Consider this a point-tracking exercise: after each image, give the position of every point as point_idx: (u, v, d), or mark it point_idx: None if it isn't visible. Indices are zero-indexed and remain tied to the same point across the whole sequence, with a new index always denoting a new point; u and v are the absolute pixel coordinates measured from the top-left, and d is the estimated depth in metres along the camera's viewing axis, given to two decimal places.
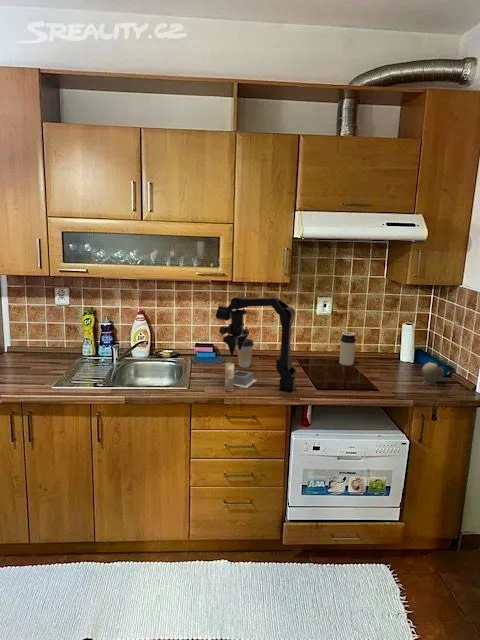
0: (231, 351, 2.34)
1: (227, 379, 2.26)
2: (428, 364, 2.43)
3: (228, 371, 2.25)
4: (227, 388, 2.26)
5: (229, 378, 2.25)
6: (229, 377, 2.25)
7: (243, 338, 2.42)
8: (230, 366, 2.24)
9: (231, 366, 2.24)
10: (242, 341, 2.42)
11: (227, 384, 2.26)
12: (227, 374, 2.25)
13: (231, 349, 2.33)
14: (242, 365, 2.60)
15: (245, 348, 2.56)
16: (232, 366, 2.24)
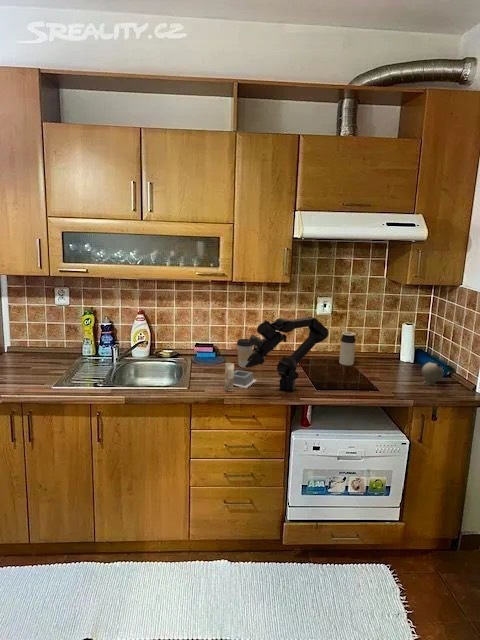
0: (248, 365, 2.20)
1: (227, 379, 2.26)
2: (428, 364, 2.43)
3: (228, 371, 2.25)
4: (227, 388, 2.26)
5: (229, 378, 2.25)
6: (229, 377, 2.25)
7: None
8: (230, 366, 2.24)
9: (231, 366, 2.24)
10: None
11: (227, 384, 2.26)
12: (227, 374, 2.25)
13: (250, 363, 2.19)
14: (242, 365, 2.60)
15: (245, 348, 2.56)
16: (232, 366, 2.24)
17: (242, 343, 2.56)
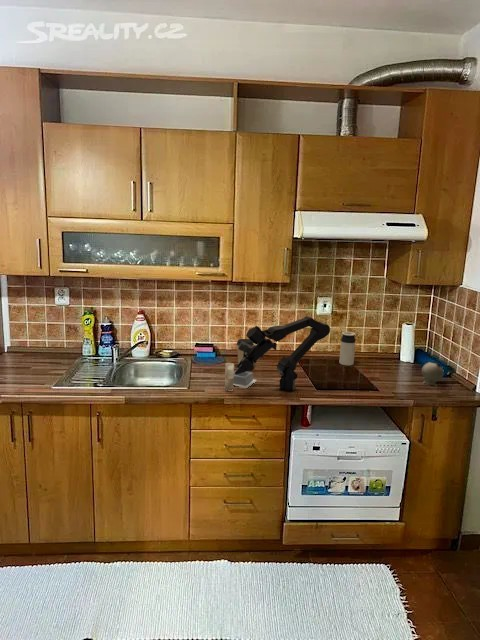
0: (238, 371, 2.20)
1: (227, 379, 2.26)
2: (428, 364, 2.43)
3: (228, 371, 2.25)
4: (227, 388, 2.26)
5: (229, 378, 2.25)
6: (229, 377, 2.25)
7: None
8: (230, 366, 2.24)
9: (231, 366, 2.24)
10: None
11: (227, 384, 2.26)
12: (227, 374, 2.25)
13: (240, 370, 2.20)
14: None
15: None
16: (232, 366, 2.24)
17: None
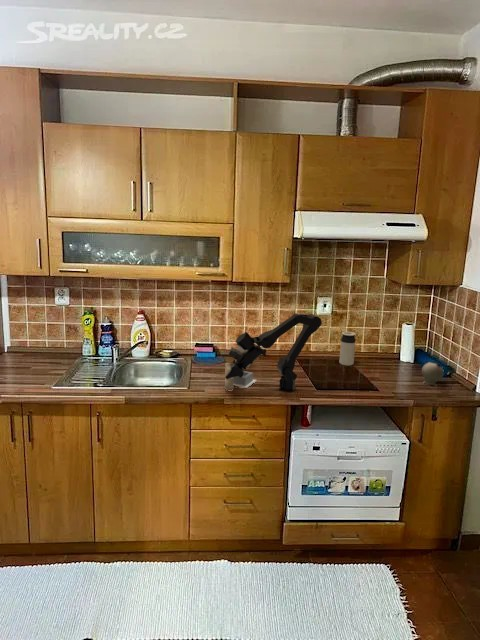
0: (228, 376, 2.24)
1: (227, 379, 2.26)
2: (428, 364, 2.43)
3: (228, 371, 2.25)
4: (227, 388, 2.26)
5: (229, 378, 2.25)
6: None
7: None
8: (230, 366, 2.24)
9: None
10: None
11: (227, 384, 2.26)
12: (227, 374, 2.25)
13: (230, 375, 2.23)
14: None
15: None
16: None
17: None
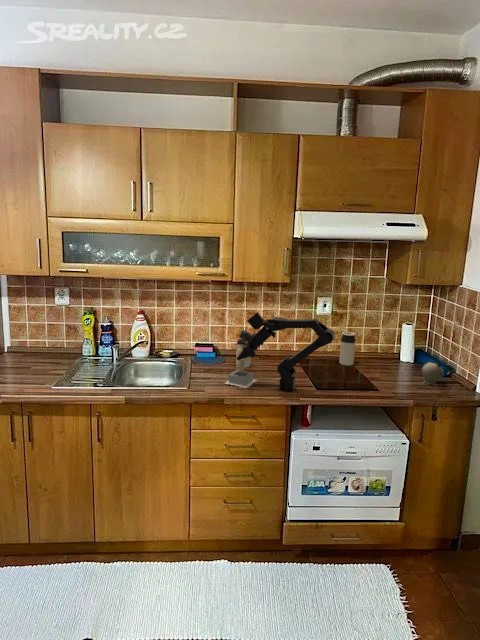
0: (240, 357, 2.30)
1: (238, 360, 2.32)
2: (428, 364, 2.43)
3: (239, 352, 2.31)
4: (238, 369, 2.33)
5: None
6: None
7: None
8: (241, 347, 2.30)
9: (242, 347, 2.31)
10: None
11: (238, 366, 2.33)
12: (238, 355, 2.31)
13: (241, 356, 2.30)
14: None
15: None
16: None
17: (242, 343, 2.56)
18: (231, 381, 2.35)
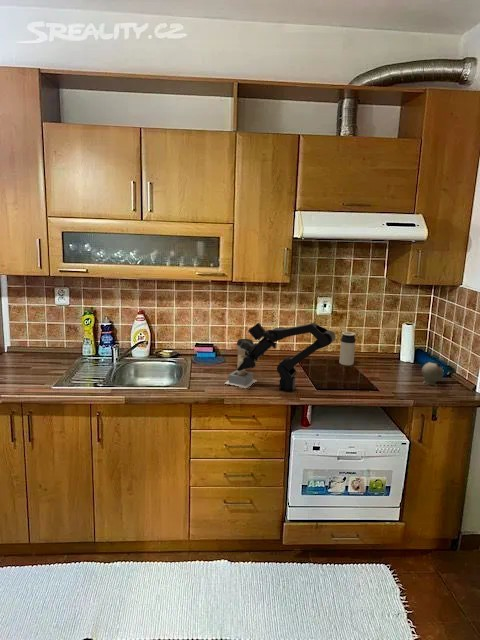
0: (240, 368, 2.31)
1: (239, 371, 2.35)
2: (428, 364, 2.43)
3: (240, 363, 2.34)
4: None
5: None
6: None
7: None
8: (242, 358, 2.33)
9: None
10: None
11: None
12: None
13: (242, 367, 2.31)
14: None
15: None
16: None
17: None
18: (231, 381, 2.35)
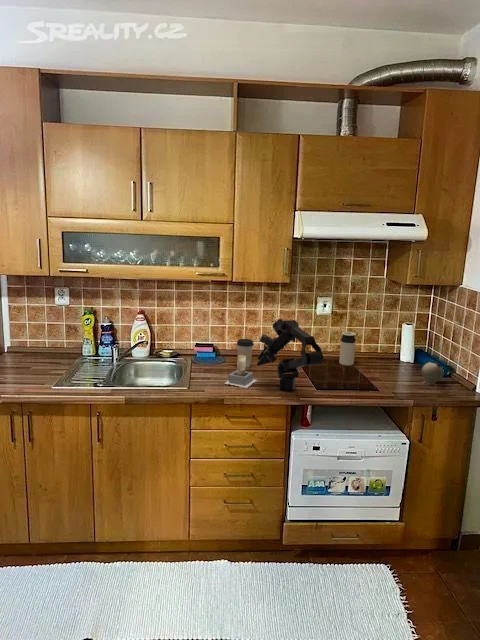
0: (260, 363, 2.29)
1: (239, 371, 2.35)
2: (428, 364, 2.43)
3: (240, 363, 2.34)
4: None
5: (241, 370, 2.34)
6: (241, 368, 2.34)
7: None
8: (242, 358, 2.33)
9: (243, 358, 2.33)
10: None
11: None
12: (239, 366, 2.34)
13: (262, 361, 2.28)
14: None
15: (245, 348, 2.56)
16: (244, 358, 2.34)
17: (242, 343, 2.56)
18: (231, 381, 2.35)
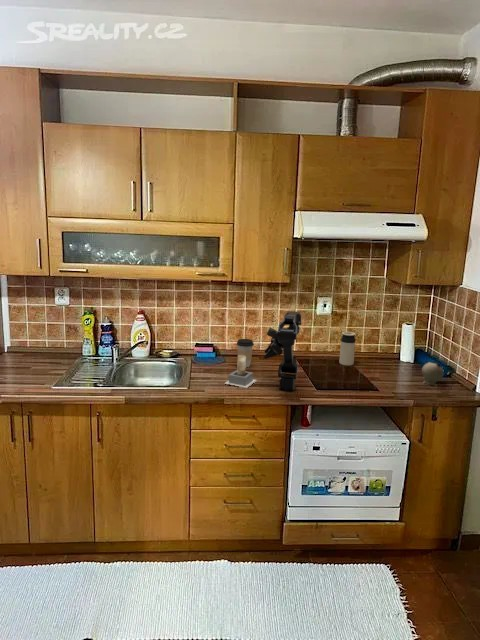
0: (267, 356, 2.33)
1: (239, 371, 2.35)
2: (428, 364, 2.43)
3: (240, 363, 2.34)
4: None
5: (241, 370, 2.34)
6: (241, 368, 2.34)
7: None
8: (242, 358, 2.33)
9: (243, 358, 2.33)
10: None
11: None
12: (239, 366, 2.34)
13: (269, 354, 2.33)
14: None
15: (245, 348, 2.56)
16: (244, 358, 2.34)
17: (242, 343, 2.56)
18: (231, 381, 2.35)
